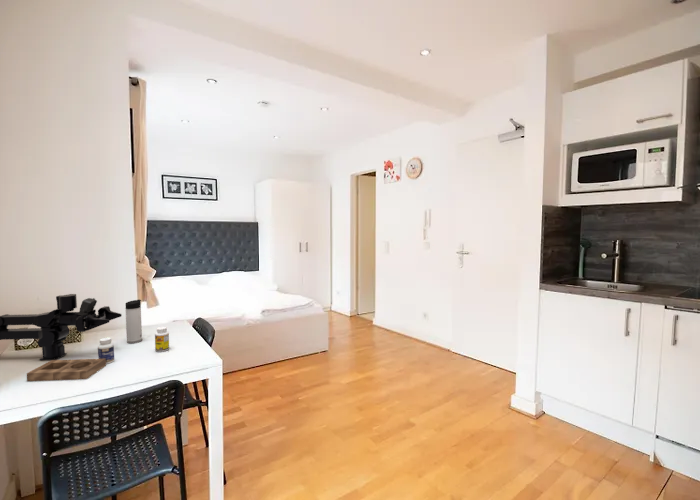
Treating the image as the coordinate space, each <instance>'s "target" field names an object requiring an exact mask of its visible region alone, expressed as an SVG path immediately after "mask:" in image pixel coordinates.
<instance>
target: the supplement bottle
mask: <svg viewBox="0 0 700 500" xmlns="http://www.w3.org/2000/svg"><path fill="white" fill-rule="evenodd" d="M169 334H170V333H169V331H168V330H167V327H166V326H159V327H157V328H156V332H155V333H154V346H155V347H154V348H155V349H154V350H155V351H156V352H157V353H162V352H167V351H168V350H169V349H170V335H169Z"/></svg>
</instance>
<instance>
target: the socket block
mask: <svg viewBox="0 0 700 500" xmlns="http://www.w3.org/2000/svg"><path fill="white" fill-rule="evenodd" d="M104 367H107V364H106V358H105V359H98V358H80V359H79V358H77V359H56V360H48V362H45V363H43V364H42V365H40V366H38V367H35V368H34V369H32V370H30V371H28V372H27V373H26V381H27V382H41V381H42V382H44V381H47V382H48V381H50V382H51V381H72V380H74V381H75V380H77V381H78V380H88V379H89V378H91V377H92V376H93V375H95V374H96V373H98V372H99V371H101V370H102V369H103V368H104ZM100 369H101V370H100ZM97 371H98V372H97Z"/></svg>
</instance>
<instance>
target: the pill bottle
mask: <svg viewBox="0 0 700 500" xmlns="http://www.w3.org/2000/svg"><path fill="white" fill-rule="evenodd" d="M112 340H113V339H112V337H110V336H109V337H103V338H100V339H99V344H98V346H97V359H105V358H106V365H108V364H110V363H113V362H115V346H114V342H112Z"/></svg>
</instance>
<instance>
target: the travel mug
mask: <svg viewBox="0 0 700 500" xmlns="http://www.w3.org/2000/svg"><path fill="white" fill-rule="evenodd" d="M141 302H142V300H141V299H135V300H129V301H126V303H125V308H124V309H125V329H126V343H127V344H137V343H141V342H142V341H143V331H142V330H143V329H142V327H143V326H142V307H141V306H142V305H141Z"/></svg>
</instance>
